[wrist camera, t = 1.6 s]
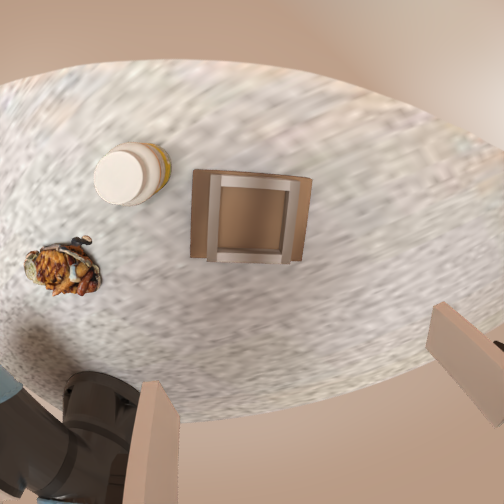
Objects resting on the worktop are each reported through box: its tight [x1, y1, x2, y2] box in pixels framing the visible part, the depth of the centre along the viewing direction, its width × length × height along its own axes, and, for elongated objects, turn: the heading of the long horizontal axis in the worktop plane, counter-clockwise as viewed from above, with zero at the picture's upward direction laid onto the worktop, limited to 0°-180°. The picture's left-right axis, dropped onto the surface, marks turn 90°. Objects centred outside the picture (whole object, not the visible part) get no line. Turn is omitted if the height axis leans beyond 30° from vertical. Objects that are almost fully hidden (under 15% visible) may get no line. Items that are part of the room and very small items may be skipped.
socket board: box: [190, 169, 312, 264], centre depth 29 cm, size 12×9×3 cm
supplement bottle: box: [94, 142, 171, 206], centre depth 23 cm, size 5×5×10 cm
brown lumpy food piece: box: [24, 236, 101, 296], centre depth 28 cm, size 7×12×4 cm, turn 98°
